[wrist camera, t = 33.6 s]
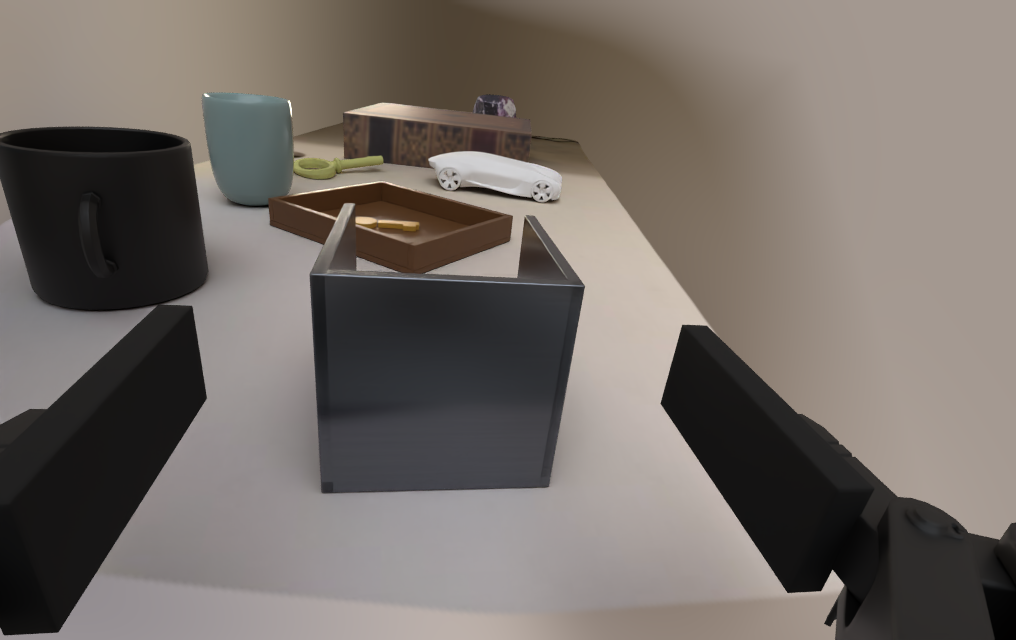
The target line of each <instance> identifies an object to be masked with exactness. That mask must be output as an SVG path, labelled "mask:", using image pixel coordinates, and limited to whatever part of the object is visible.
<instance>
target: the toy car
mask: <svg viewBox="0 0 1016 640" xmlns="http://www.w3.org/2000/svg"><path fill="white" fill-rule="evenodd" d="M428 161H429V164H430V166H431V167H433V168H434V169H436V176H437V178H438V181H439V182H440V184H441V186H442V187H443V188H444V189H446V190H450V191H451V190H455V189H457V188H458V187H459V186H460V187H483V188H490V189H493V190H497V191H500V192H504V193H508V194H512V195H517V196H524V197H533V198H534V199H535V200H536V201H538V202H546V201H548V200H549V199H550V200H556V199H558V198H559V195H560V193H561V190H562V187H561V183H562V177H561V175H560V174H559V173H557V172H556V171H554V170H552V169H549V168H546V167H543V166H540V165H536V164H533V163H527V162H523V161H519V160H515V159H511V158H506V157H502V156H498V155H494V154H489V153H484V152H475V151H462V152H451V153H446V154H441V155H437V156H434V157H431V158H429V159H428ZM445 171H447V175H445V174H443V173H444V172H445ZM449 177H451V178H449ZM448 178H449V179H448ZM443 180H446V181H445V182H443ZM451 180H452V181H451ZM454 181H458V184H457V185H456V184H455V182H454ZM449 184H450V185H451V187H449V186H448V185H449ZM460 184H461V185H460ZM544 187H546V188H544ZM534 192H537V193H538V194H536V195H535V194H534ZM546 194H547V195H549V196H547V195H546ZM541 196H542V197H543V199H540V197H541Z"/></svg>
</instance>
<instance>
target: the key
mask: <svg viewBox="0 0 1016 640" xmlns="http://www.w3.org/2000/svg"><path fill="white" fill-rule="evenodd" d="M381 164H383V157H382V156H371V157H370V156H368V157H365V158H356V159H348V160H339V159H338V158H335V159H334V161H331V162H330V161H327V160H324V159H318V158H304V159H299V160H296V161H295V162H294V172H295V173H296V174H298V175H300V176H303V177H307V178H312V179H327V178H331V177H333V176H335V171H336V172H337V173H341V171H342V169H350V168H358V167H365V166H373V165H381ZM303 168H319V169H315V170H310V169H303Z"/></svg>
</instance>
